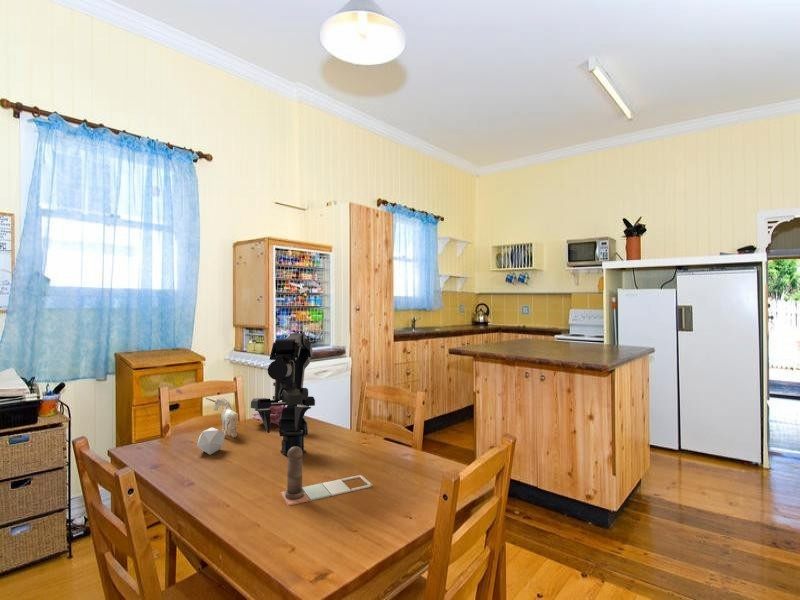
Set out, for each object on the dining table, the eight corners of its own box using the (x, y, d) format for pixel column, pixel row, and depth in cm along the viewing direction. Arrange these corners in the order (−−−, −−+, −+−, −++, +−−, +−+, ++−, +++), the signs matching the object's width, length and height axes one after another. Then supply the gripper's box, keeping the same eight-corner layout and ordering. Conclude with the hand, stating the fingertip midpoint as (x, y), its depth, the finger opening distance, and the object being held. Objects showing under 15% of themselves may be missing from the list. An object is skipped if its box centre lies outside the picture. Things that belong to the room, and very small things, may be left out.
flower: (252, 424, 170) (259, 399, 172) (249, 420, 183) (256, 397, 186) (289, 431, 175) (295, 407, 177) (283, 426, 188) (289, 404, 191)
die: (228, 454, 148) (230, 426, 154) (211, 448, 142) (213, 420, 147) (209, 460, 150) (211, 433, 156) (190, 455, 143) (193, 427, 149)
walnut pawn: (303, 490, 118) (303, 443, 118) (304, 498, 114) (304, 448, 114) (285, 492, 117) (285, 444, 117) (285, 500, 112) (285, 450, 112)
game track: (360, 476, 129) (360, 474, 129) (372, 486, 122) (372, 485, 122) (280, 493, 117) (280, 491, 117) (288, 505, 110) (288, 504, 110)
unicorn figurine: (222, 427, 176) (222, 394, 176) (249, 437, 164) (249, 402, 164) (204, 431, 171) (205, 397, 171) (231, 442, 159) (231, 405, 158)
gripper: (266, 380, 122) (264, 437, 120) (324, 379, 134) (323, 431, 132) (251, 379, 130) (248, 433, 128) (307, 378, 142) (305, 427, 140)
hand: (282, 431), depth 132 cm, fingers open, 9 cm apart
